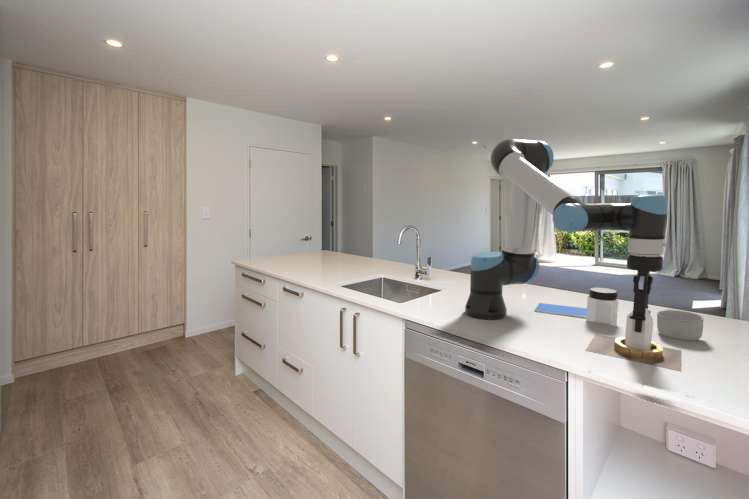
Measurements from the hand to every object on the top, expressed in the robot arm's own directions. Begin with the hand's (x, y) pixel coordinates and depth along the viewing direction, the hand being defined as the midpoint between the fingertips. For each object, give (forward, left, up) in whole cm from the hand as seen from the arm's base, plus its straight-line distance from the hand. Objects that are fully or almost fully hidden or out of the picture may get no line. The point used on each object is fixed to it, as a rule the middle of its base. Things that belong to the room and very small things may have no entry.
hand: (638, 339), depth 97 cm
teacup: (+8, +24, -5) cm, 26 cm away
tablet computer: (-26, +34, -6) cm, 43 cm away
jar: (-12, +25, -5) cm, 28 cm away
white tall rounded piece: (0, 0, -3) cm, 3 cm away
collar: (0, 0, -3) cm, 3 cm away
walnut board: (-1, 0, -5) cm, 5 cm away
